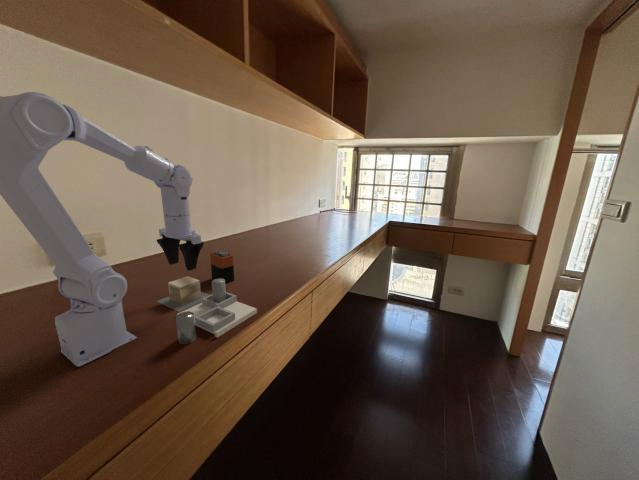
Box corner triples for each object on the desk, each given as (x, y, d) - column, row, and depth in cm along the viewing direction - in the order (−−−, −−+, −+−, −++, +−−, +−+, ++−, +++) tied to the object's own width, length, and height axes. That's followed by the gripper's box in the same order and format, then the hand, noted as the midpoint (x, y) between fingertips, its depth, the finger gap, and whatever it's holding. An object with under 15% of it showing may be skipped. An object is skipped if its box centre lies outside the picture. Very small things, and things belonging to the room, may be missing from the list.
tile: (179, 314, 62) (178, 306, 62) (156, 303, 67) (155, 296, 67) (213, 298, 71) (213, 291, 70) (191, 289, 76) (190, 283, 75)
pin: (185, 348, 50) (182, 321, 49) (175, 343, 52) (172, 316, 50) (199, 340, 53) (197, 314, 52) (190, 335, 54) (187, 309, 53)
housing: (182, 305, 65) (180, 287, 64) (170, 300, 68) (167, 282, 67) (201, 297, 70) (199, 280, 69) (188, 292, 73) (187, 276, 71)
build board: (216, 338, 54) (214, 307, 52) (176, 318, 60) (173, 290, 59) (257, 312, 64) (256, 286, 62) (219, 298, 71) (218, 274, 69)
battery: (222, 286, 79) (220, 255, 76) (211, 280, 83) (209, 250, 81) (235, 282, 82) (233, 252, 80) (223, 276, 86) (221, 248, 84)
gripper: (210, 215, 63) (213, 267, 67) (175, 210, 70) (180, 257, 74) (183, 219, 57) (188, 275, 61) (148, 213, 64) (154, 264, 68)
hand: (182, 266), depth 67 cm, fingers open, 7 cm apart
